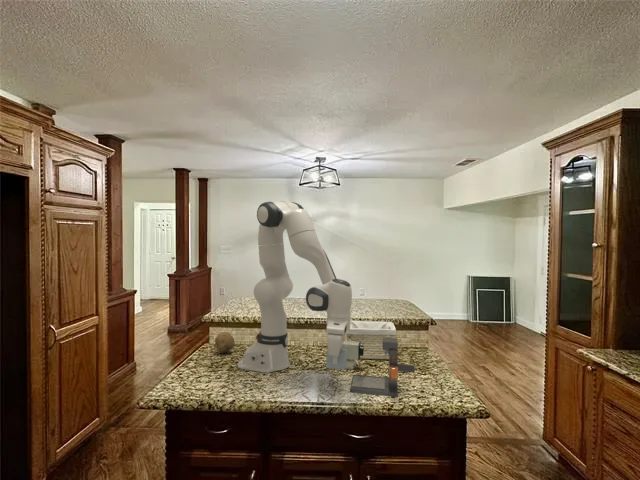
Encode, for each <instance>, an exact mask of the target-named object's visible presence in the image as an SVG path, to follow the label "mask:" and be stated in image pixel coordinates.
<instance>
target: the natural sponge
mask: <svg viewBox="0 0 640 480" xmlns="http://www.w3.org/2000/svg"><path fill="white" fill-rule="evenodd" d="M214 340H215V341H214V342H215V346H216V348H217V350H218V352H219V353H221V354H225V353H227V352H228V351H229V350H230V351H231V349H233V348H234V346H235V345H236V344H235V343H236V342H235V339H234V337H233V335H232V334H231V333H229V332H227V331H224V332H220V333H219V334H217V336H216V337H215V338H214Z"/></svg>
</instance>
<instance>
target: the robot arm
mask: <svg viewBox="0 0 640 480" xmlns="http://www.w3.org/2000/svg"><path fill="white" fill-rule="evenodd" d="M256 219H257V221H258V223H259V226H258V235H257V237H258V238H257V240H258V242H257V243H258V244H257V245H258V255H259V256H258V258H259V260H258V261H259V265H260V267H262V270H263V273H264V276H265V277H264V278H262V279H261V280H259V282H257V283H256V284H255V285H254V287H253V296H254V298H255V300H256V301H257V303H258V307H259V311H260V317H261V318H260V323H261V324H260V331H259V332H258V333H257V334H256V335H255V340H256V342H255V341H254V343H253V344H251V345H250V346H249V347H248V348H247V349H245V352H244V353H243V358H241V359H240V360H239V361H238V363H237V369H241V370H246V371H247V370H248V371H253V372H258V373H264V374H268V373H269V374H270V373H272V372H279V371H282V370H285V369H287V368H289V367H290V366H291V363H290V360H289V354H288V343H289V342H288V341H289V339H288V337H289V336H288V332H287V331H288V330H287V327H288V326H287V324H288V322H287V318H288V317H287V316H288V315H287V313H286V311H285V308H284V304H283V300H284V299H286V298H287V297H288V296H290V294H291V293H292V291H293V288H294V283H293V281H292V279H291V278H290V274H289V271H288V267H287V264H286V263H287V262H286V257H285V255H286V254H285V243H284V231H286V233H287V237H288V242H289V244H290V246H291V249H292V251H293V252H294V254H295V255H296V256H297V257H299V258H301V259H304V260H306V261H308V262H310V263H311V264H312V265H313V266H314V267H315V269H316V272H317V274H318V276H319V278H320V281H321V284H320V285H316V286H312V287H310V288H309V289H308V290H307V292H306V295H305V301H306V305H307V307H308V308H309V310H311V311H314V312H326V313H327V314H326V334H327V350H328V354H329V355H330V356H332V358H333V364H337V363H338V356H339V353H340V351H341V348H342V346H343V343H344V341H346V333H347V330H349V329H350V322H351V321H352V320H351V319H352V314H351V307H352V303H353V302H352V301H353V299H352V297H353V292H352V285H351V284H350V283H349V282H348V281H347V280H344V279H340V278H337V277H336V274H335V272H334V269H333V267H332V264H331V262H330V259H329V257H328V254H327V253H326V251H325V249H324V247H322V245H321V243H320V241H319V239H318V238H319V237H318V235H317V233H316V229H315V226H314V223H313V221H312V219H311V217H310V215H309V213H308V211H307V210H306V209H304V207H303V206H302V205H301V204H300V203H297V202H295V201H294V202H293V201H292V202H290V201H282V200H281V201H265V202H263V203H260V204H259V206H258V208H257V210H256Z"/></svg>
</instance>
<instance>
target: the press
mask: <svg viewBox="0 0 640 480" xmlns="http://www.w3.org/2000/svg"><path fill="white" fill-rule="evenodd" d="M398 340H399V339H398V338H396V337H395V338H383V350H385V355H387V356H389V359H388V368H389V367H390V366H396V367H398V372H400V373H401V372H402V373H404V372H405V373H412V374H413V373H415V371H416V369H415V368H416V367H415V365H412V364H402V363H401V364H400V363H398V362H399V359H398V358H399V341H398ZM349 393H352V394H353V393H355V394H364V395H365V394H366V395H375V396H376V395H377V396H388V397H396V398H397V397H398V394H399V392H398V380H395V381H394V380H390V379H389V376H388V377H387V376H375V375H365V374H364V375H363V374H362V375H361V374H353V376H352V379H351V382H350V387H349Z"/></svg>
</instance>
